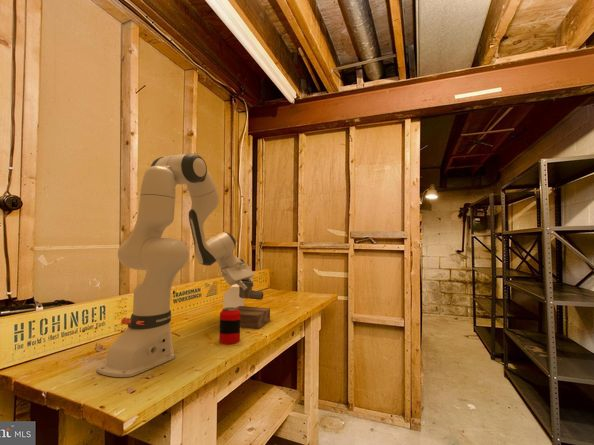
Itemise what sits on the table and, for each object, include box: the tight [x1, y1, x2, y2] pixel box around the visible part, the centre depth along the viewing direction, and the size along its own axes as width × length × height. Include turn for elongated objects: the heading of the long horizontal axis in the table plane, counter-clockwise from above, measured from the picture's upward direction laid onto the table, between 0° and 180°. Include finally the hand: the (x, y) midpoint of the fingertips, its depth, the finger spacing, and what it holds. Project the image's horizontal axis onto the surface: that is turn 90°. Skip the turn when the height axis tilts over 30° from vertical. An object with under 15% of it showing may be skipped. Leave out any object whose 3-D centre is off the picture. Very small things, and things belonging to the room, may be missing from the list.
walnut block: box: [236, 305, 271, 330], centre depth 133 cm, size 14×16×6 cm
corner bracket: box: [222, 284, 245, 308], centre depth 165 cm, size 11×11×12 cm
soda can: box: [218, 307, 241, 345], centre depth 110 cm, size 8×8×12 cm
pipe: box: [239, 280, 264, 301], centre depth 134 cm, size 6×13×8 cm, turn 74°
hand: (249, 287), depth 134 cm, fingers closed on pipe, 5 cm apart
